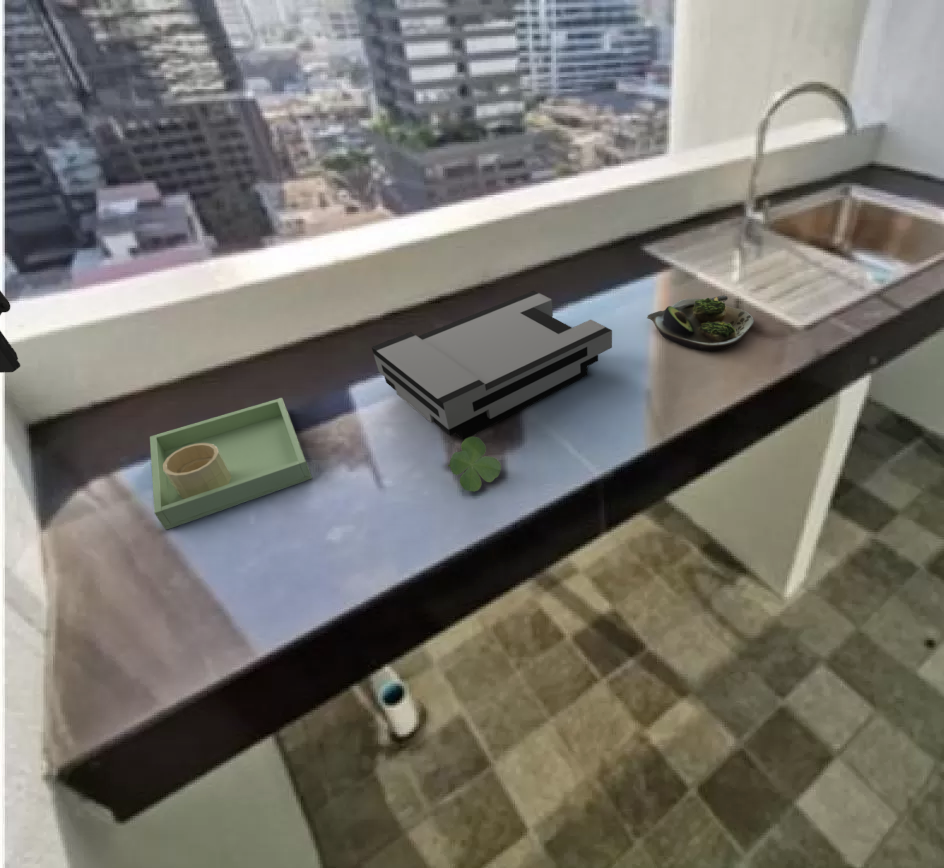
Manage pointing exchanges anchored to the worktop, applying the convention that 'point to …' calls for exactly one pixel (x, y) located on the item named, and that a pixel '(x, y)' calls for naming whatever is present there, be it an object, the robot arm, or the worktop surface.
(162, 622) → the worktop surface
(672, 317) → the salad plate
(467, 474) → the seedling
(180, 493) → the beige cup
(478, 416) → the game console
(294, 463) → the tray
